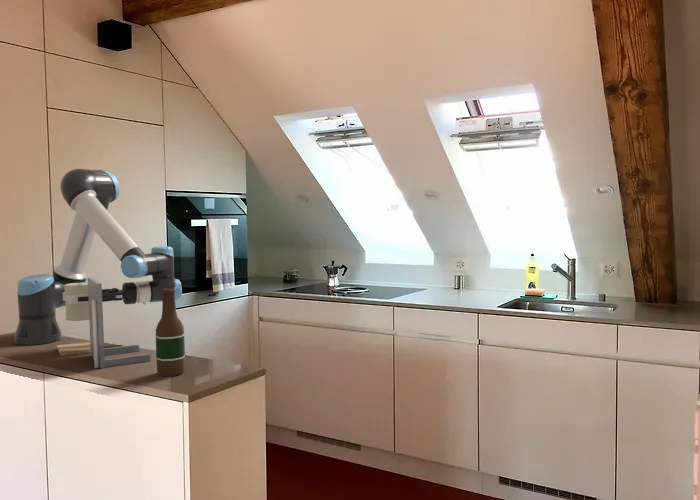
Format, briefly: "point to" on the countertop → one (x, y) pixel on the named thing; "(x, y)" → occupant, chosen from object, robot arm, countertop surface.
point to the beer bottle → (170, 338)
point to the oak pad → (74, 348)
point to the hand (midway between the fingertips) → (64, 298)
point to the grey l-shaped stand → (98, 333)
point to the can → (79, 309)
